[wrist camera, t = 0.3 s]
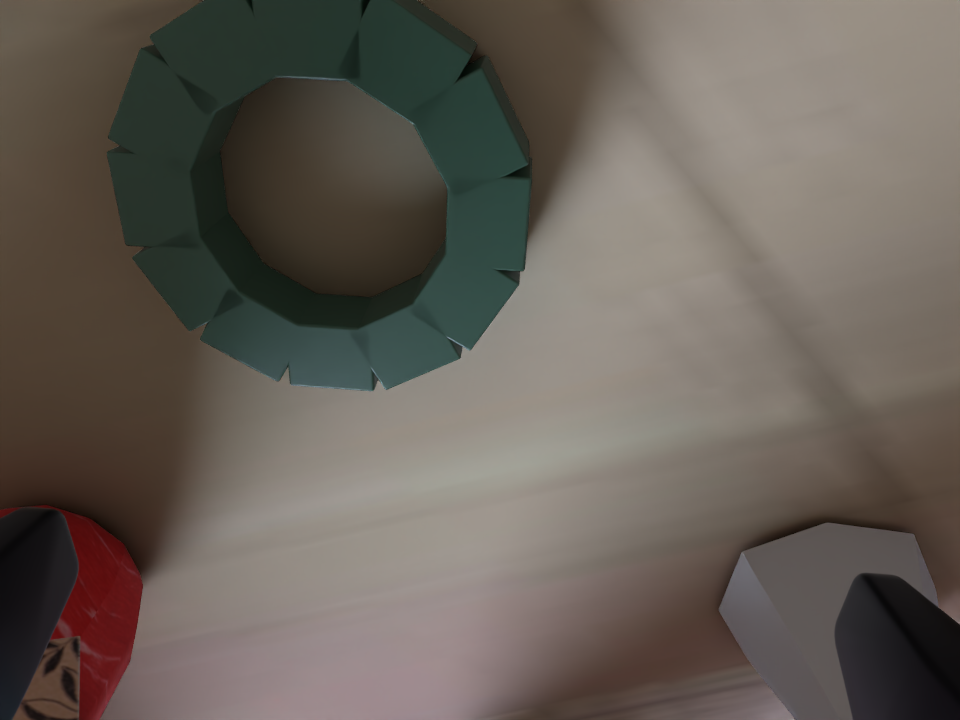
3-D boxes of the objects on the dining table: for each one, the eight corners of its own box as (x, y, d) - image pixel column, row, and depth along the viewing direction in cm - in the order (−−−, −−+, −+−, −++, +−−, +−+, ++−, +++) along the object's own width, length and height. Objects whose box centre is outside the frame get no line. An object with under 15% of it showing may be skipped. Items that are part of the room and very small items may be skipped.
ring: (515, 366, 22) (513, 402, 20) (181, 342, 22) (152, 376, 21) (545, -14, 17) (546, -8, 15) (113, -37, 17) (66, -34, 16)
